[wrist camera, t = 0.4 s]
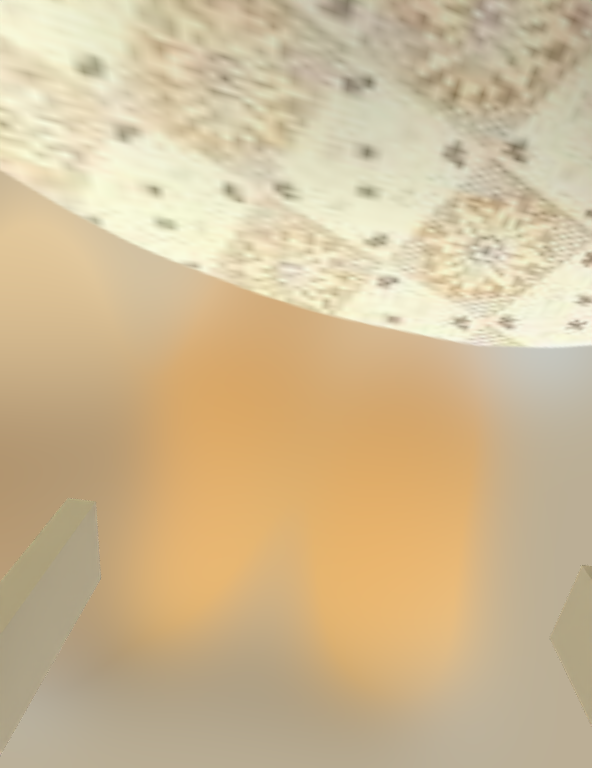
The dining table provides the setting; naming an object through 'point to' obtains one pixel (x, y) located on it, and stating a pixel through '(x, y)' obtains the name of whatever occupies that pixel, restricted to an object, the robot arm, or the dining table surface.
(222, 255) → the dining table surface
